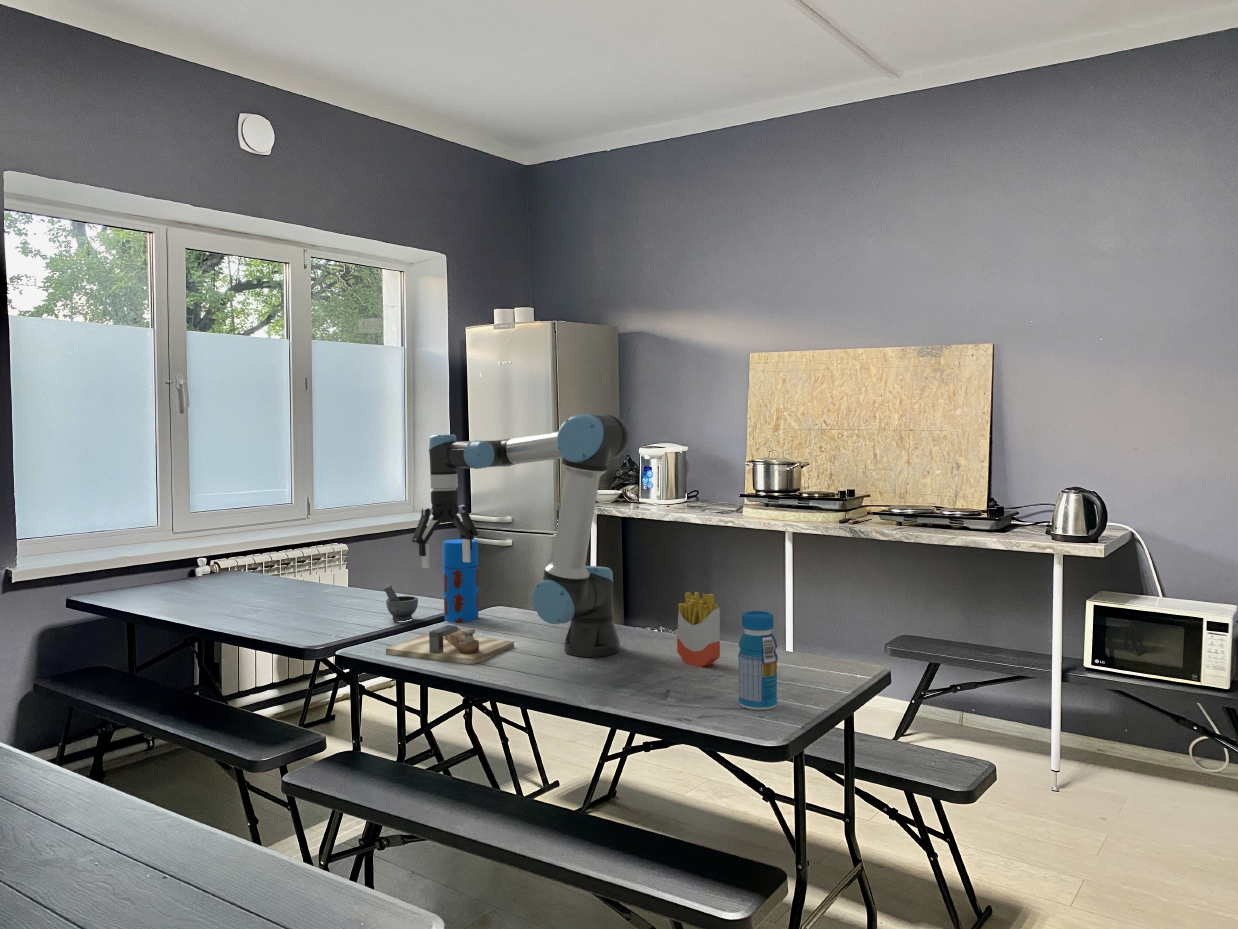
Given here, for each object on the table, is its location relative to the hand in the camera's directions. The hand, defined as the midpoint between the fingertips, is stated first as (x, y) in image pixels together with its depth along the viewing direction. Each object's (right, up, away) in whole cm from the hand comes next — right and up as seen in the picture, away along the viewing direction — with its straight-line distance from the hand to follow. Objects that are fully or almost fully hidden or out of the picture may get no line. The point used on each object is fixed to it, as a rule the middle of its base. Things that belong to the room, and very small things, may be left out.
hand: (446, 565), depth 247 cm
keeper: (+1, -21, -11) cm, 24 cm away
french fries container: (+69, -23, -23) cm, 76 cm away
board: (+2, -23, -7) cm, 24 cm away
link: (+5, -21, -7) cm, 23 cm away
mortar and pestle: (-21, -22, +32) cm, 44 cm away
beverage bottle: (+79, -24, -57) cm, 100 cm away
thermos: (-2, -21, +33) cm, 39 cm away
